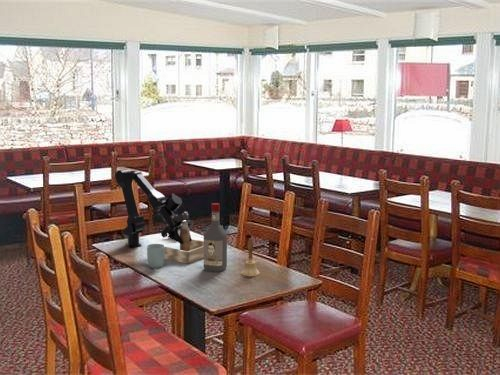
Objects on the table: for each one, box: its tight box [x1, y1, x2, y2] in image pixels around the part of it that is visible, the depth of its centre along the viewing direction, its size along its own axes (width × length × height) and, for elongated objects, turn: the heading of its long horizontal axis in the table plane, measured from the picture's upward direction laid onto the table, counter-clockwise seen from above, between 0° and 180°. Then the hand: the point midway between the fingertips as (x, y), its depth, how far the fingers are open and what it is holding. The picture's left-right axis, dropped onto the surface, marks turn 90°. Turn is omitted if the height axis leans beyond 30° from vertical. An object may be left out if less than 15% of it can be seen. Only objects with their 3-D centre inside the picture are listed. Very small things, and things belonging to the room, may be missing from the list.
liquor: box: [203, 202, 228, 273], centre depth 276 cm, size 9×9×30 cm
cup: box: [146, 243, 165, 270], centre depth 279 cm, size 8×8×10 cm
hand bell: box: [240, 237, 261, 277], centre depth 272 cm, size 8×8×16 cm
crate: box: [164, 238, 204, 265], centre depth 296 cm, size 16×20×6 cm
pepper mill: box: [179, 220, 191, 251], centre depth 296 cm, size 5×5×17 cm
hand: (187, 242), depth 296 cm, fingers open, 6 cm apart
